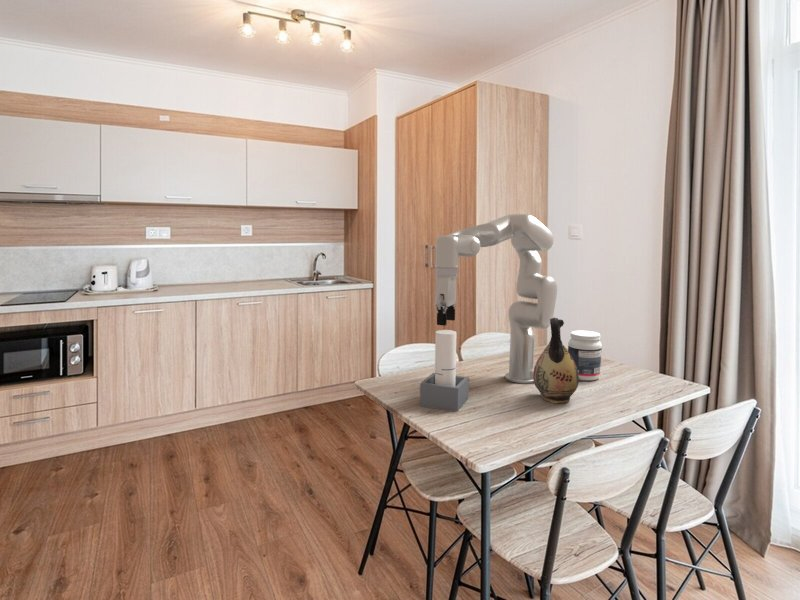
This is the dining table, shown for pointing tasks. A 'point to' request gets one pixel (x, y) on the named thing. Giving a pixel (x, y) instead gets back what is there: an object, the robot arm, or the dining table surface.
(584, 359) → the supplement tub
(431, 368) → the dining table surface
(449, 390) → the square well
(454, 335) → the cylindrical container
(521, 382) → the robot arm
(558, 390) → the ceramic jug
